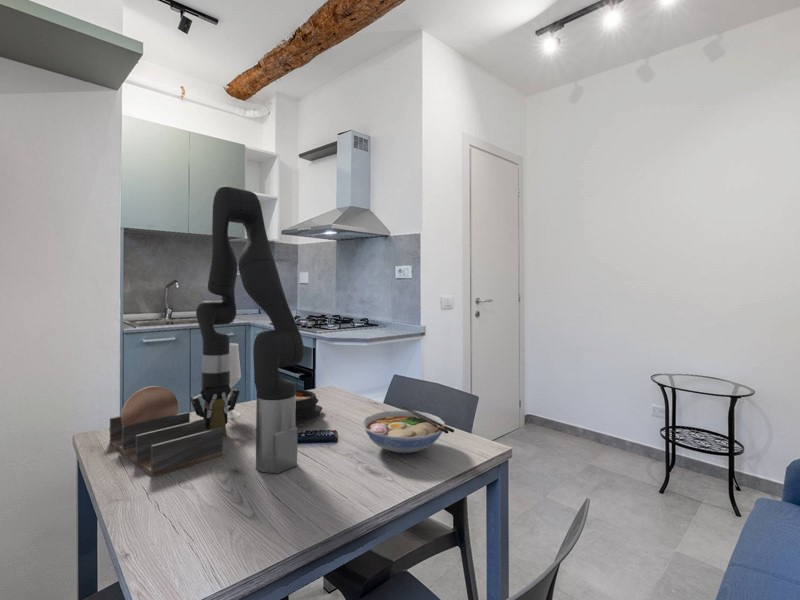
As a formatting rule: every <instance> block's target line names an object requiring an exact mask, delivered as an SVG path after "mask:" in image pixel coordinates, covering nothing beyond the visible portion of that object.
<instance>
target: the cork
mask: <svg viewBox="0 0 800 600" xmlns="http://www.w3.org/2000/svg"><path fill="white" fill-rule="evenodd" d="M212 403H213V404H212V412H211V416H210V418H211V420H210V427H209V430H212V429H215V428H219V427H222V428H223V438H224V437H226V436H227V428H226V427H227V426H226V425H227V424H226V425H225V418H224V410H223V408H224V407H225V401H224V400H223V399H221V398H219V399H216V400H215V401H214V402H212ZM209 404H210V403H209ZM209 404H208V403H206V406H209ZM205 431H208V429H205Z"/></svg>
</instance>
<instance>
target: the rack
mask: <svg viewBox="0 0 800 600" xmlns="http://www.w3.org/2000/svg"><path fill="white" fill-rule="evenodd" d="M177 399H178V398H177V397H176V394H174V393H173V392H172V391H171V390H170V389H168V388H166V387H163V386H159V385H152V386H146V387H143V388H141V389H139V390H137V391H135V392H133V394H131V395H130V396H129V398H128V399H126V401H125V403H124V404H123V407H122V410H121V413H120V415H119V416H113V417H110V418H109V444H110V443H111V444H112V445H113V447H114V448H115V449H116V448H117V449H116V450H117V451H119V452H120V451H121V452H122V455H124V456H125V457H127V458H128V459H129V460H130V459H131V462H133V463H134V464H136V465H137V466H138V467H139V468H141V469H142V470H143V471H145V472H146V473H147V474H148V475H149V476H151V477H153V478H154V477H159V476H160V475H164V474H167V473H171V472H175V471H177V470H181V469H183V468H186V467H190V466H192V465H196V464H199V463H202V462H205V461H209V460H212V459H215V458H219V457H222V456H223V455H224V450H223V449H224V437H223V428H222V427H219V428H215V429H212V430H208V431H205V419H203V418H202V419H197V420H194V421H190V416H191V415H190V414H191V413H190V412H191V411H185V412H182V413H178V410H179V402H178V400H177ZM111 444H110V445H111ZM112 445H111V446H112ZM121 452H120V453H121Z"/></svg>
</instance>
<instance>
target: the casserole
mask: <svg viewBox="0 0 800 600" xmlns="http://www.w3.org/2000/svg"><path fill="white" fill-rule="evenodd" d="M318 403H319V399H318V398H317V396H316V393H315V392H313V391H310V390H305V389H296V415H295V426H297V425H302V424H305V423H308V422H311V421H314V420H316V419H318V418H319V417H320V416H321V412H322V410H323V406H322V405H321V406H320V405H318Z"/></svg>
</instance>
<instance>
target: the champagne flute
mask: <svg viewBox="0 0 800 600" xmlns="http://www.w3.org/2000/svg"><path fill="white" fill-rule="evenodd" d="M229 356H230V384H229V386H230V388H231V389H233V387H234V386H235V385H236V384H238V383H239V382H240V380H241V378H242V373H241V372H242V371H241V361H240V350H239V344H238V343H232V342H231V343H230V342H229ZM229 397H230V395H228V396H227V401H228V400H229ZM241 415H242V414H241V413H240V412H237V411H236V410H231V411H229V412H228V417H227V420H228V418H229V419H235V418H238V417H240V416H241Z"/></svg>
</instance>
